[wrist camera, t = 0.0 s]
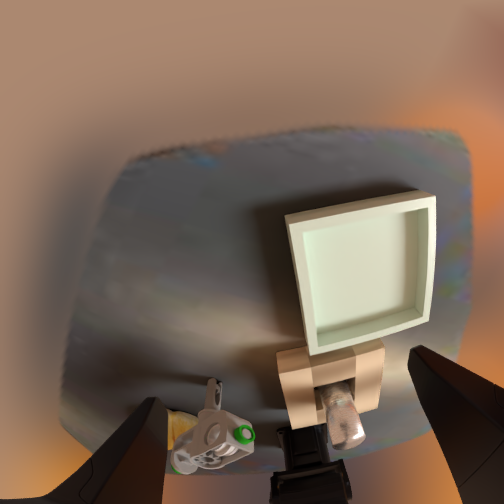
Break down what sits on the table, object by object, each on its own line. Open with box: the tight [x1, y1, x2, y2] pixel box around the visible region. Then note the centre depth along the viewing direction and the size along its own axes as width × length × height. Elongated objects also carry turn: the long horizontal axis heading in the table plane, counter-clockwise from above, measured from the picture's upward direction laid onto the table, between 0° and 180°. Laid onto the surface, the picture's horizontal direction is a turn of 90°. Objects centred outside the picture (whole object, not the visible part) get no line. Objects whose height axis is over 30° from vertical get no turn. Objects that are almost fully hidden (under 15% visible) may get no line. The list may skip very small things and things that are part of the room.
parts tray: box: [284, 190, 436, 356], centre depth 22 cm, size 12×12×2 cm
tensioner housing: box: [276, 338, 385, 429], centre depth 27 cm, size 10×10×3 cm
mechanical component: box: [171, 378, 255, 474], centre depth 23 cm, size 3×10×10 cm, turn 138°
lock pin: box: [318, 379, 366, 450], centre depth 24 cm, size 3×3×9 cm
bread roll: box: [167, 409, 199, 450], centre depth 30 cm, size 8×9×4 cm
